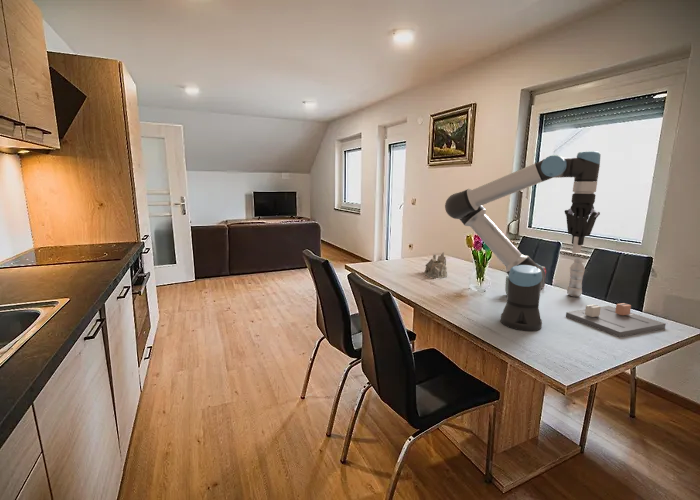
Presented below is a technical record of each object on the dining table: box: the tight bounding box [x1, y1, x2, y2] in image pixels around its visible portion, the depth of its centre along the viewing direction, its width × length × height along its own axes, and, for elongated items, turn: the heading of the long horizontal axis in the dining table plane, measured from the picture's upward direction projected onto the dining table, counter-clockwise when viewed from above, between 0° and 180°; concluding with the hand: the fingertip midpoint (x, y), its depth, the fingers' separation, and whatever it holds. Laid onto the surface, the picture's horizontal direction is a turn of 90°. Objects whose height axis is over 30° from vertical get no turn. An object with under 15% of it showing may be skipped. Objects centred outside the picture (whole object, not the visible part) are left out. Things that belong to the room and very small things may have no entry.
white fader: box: [585, 303, 602, 317], centre depth 143 cm, size 4×3×4 cm
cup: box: [504, 275, 509, 295], centre depth 175 cm, size 8×8×10 cm
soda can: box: [540, 265, 547, 290], centre depth 191 cm, size 7×7×12 cm
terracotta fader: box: [615, 302, 632, 315], centre depth 145 cm, size 4×3×4 cm
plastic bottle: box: [566, 256, 586, 298], centre depth 175 cm, size 6×7×20 cm
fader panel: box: [565, 305, 666, 338], centre depth 142 cm, size 26×22×2 cm
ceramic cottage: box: [423, 251, 448, 279], centre depth 217 cm, size 16×16×15 cm
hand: (576, 252), depth 137 cm, fingers closed
